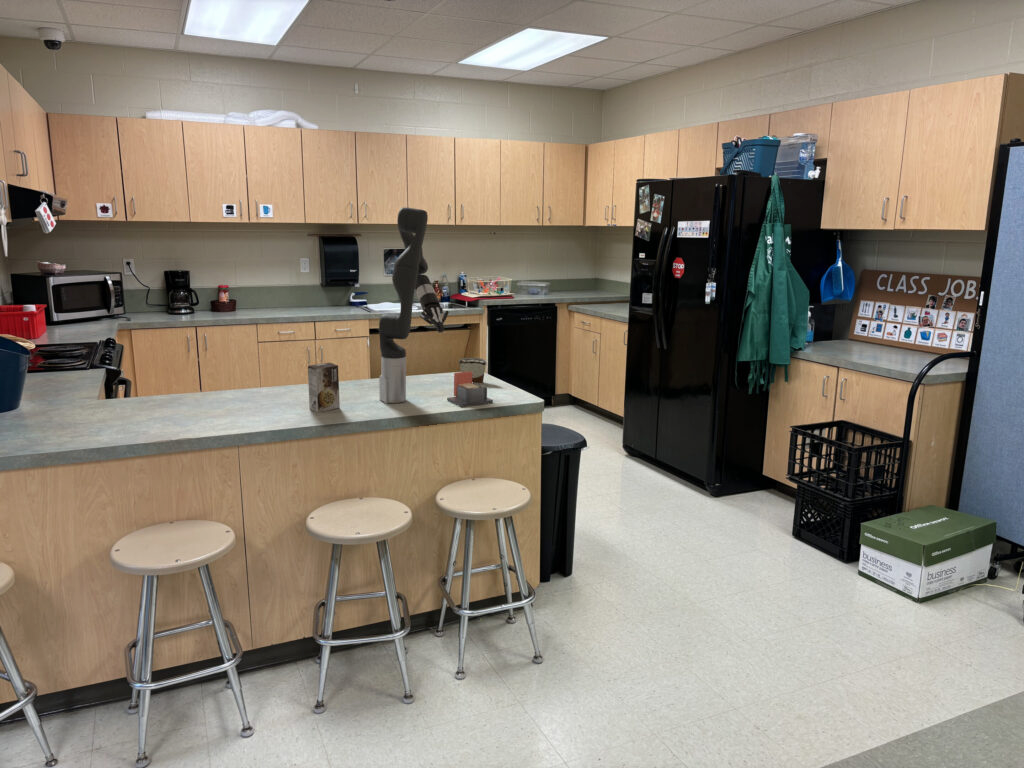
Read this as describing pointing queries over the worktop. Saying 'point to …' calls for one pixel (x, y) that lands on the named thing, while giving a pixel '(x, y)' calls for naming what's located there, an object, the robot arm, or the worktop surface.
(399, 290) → the robot arm
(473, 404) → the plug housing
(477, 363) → the food container
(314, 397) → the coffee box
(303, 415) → the worktop surface
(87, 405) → the worktop surface
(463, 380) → the red plug
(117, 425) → the worktop surface
